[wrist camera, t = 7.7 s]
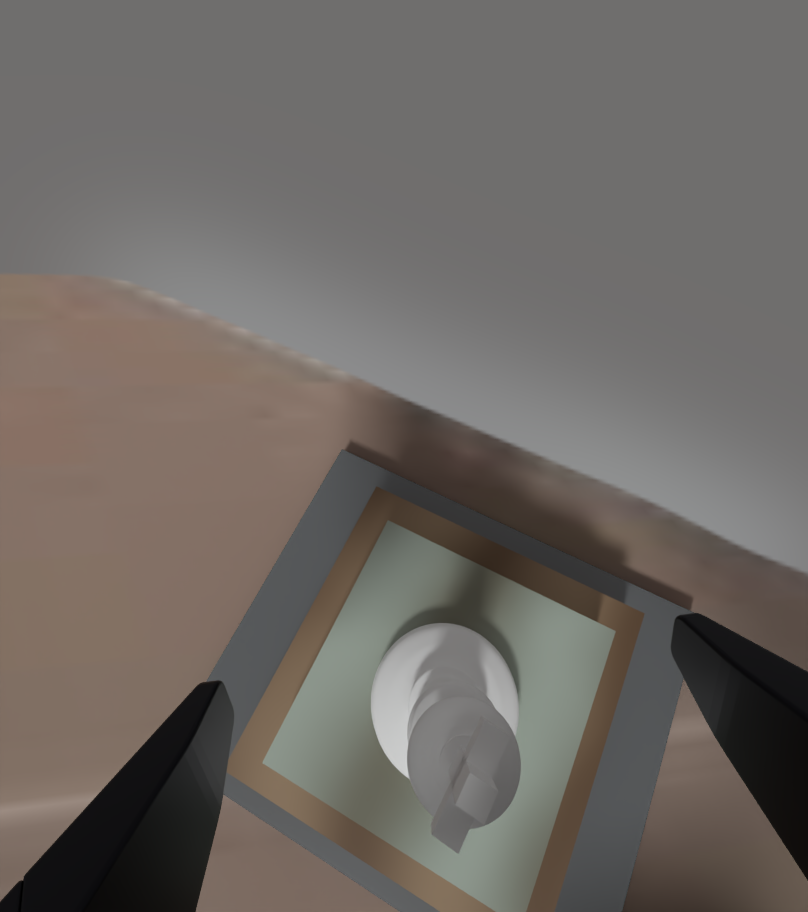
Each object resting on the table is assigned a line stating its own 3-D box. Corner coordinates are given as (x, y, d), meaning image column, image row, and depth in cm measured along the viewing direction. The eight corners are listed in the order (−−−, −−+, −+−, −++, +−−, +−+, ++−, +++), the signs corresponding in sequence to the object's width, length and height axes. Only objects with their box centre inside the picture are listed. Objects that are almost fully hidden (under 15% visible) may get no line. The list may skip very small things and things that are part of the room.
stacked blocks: (622, 615, 20) (670, 610, 16) (521, 932, 17) (552, 1024, 13) (380, 499, 23) (371, 471, 19) (244, 755, 19) (198, 786, 15)
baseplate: (690, 616, 21) (700, 615, 20) (581, 1019, 16) (588, 1037, 16) (344, 454, 24) (342, 449, 24) (173, 749, 20) (163, 754, 19)
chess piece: (343, 729, 15) (222, 875, 6) (416, 596, 17) (411, 548, 8) (475, 823, 14) (574, 1169, 5) (542, 672, 16) (715, 725, 6)
